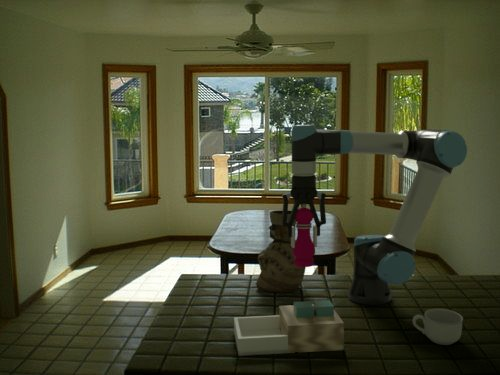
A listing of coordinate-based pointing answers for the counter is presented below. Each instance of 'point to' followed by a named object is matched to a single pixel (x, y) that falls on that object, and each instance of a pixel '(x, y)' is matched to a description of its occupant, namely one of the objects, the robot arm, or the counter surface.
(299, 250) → the pepper mill
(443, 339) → the teacup
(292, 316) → the light wood block
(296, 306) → the tile
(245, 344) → the tray
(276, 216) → the ceramic vessel
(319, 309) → the tile
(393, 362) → the counter surface
